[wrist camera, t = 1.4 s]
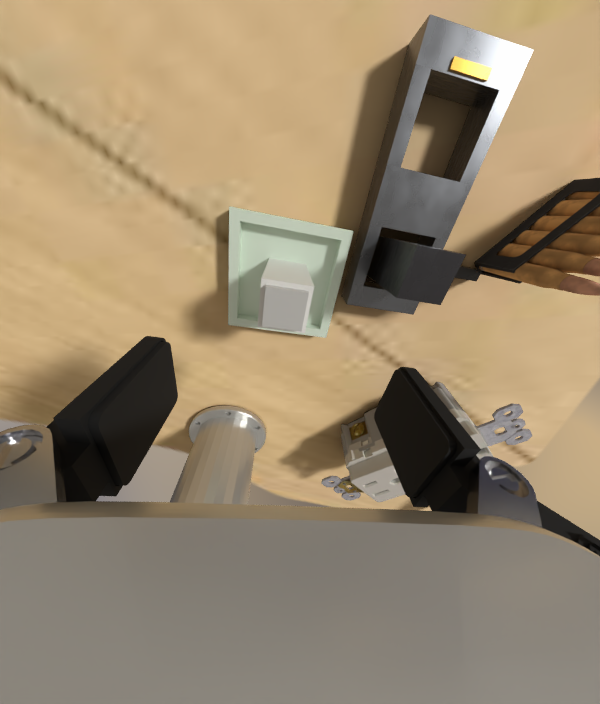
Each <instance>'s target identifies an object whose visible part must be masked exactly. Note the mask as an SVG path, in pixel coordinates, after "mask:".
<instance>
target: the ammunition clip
mask: <svg viewBox="0 0 600 704" xmlns="http://www.w3.org/2000/svg"><path fill="white" fill-rule="evenodd" d="M596 256H600V178H592V179H580V180H574V181H572V182H571V183H570V184H569V185H568V186H566V187H565V188H564V189H563V190H562V191H560V192H559V193H558V194H557V195H555V196H554V197H553V198H552V199H551V200H549V201H548V202H547V203H546V204H545V205H543V206H542V207H541V208H540V209H539V210H537V211H536V212H535V213H534V214H533V215H531V216H530V217H529V218H528V219H526V220H525V221H524V222H523V223H522V224H520V225H519V226H518V227H517V228H516V229H514V230H513V231H512V232H511V233H510V234H508V235H507V236H506V237H505V238H503V239H502V240H501V241H500V242H499V243H497V244H496V245H495V246H494V247H493V248H491V249H490V250H489V251H488V252H487V253H485V254H484V255H483V256H482V257H481V258H479V259H478V260H477V261H476V262H475V265H476V267H477V269H478V270H481V271H482V272H481V274H483V275H487V276H491V277H495V278H499V279H503V280H508V281H512V282H515V283H521V282H525V283H529V284H532V285H536V286H539V287H543V288H554V289H558V290H564V291H568V292H572V293H577V294H584V295H600V284H599V283H596V282H594V281H591V280H588V279H585V278H581V277H577V276H574V275H570V274H567V273H579V274H588V275H593V276H600V259H599V258H595V257H596Z"/></svg>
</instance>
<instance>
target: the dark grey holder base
mask: <svg viewBox="0 0 600 704" xmlns="http://www.w3.org/2000/svg"><path fill="white" fill-rule="evenodd" d="M532 52H533V50H532V49H529V48H527V47H524V46H521V45H518V44H515V43H512V42H509V41H506V40H503V39H500V38H497V37H495V36H492V35H489V34H486V33H483V32H480V31H477V30H474V29H471V28H468V27H465V26H463V25H460V24H457V23H454V22H451V21H448V20H445V19H442V18H439V17H436V16H434V15H431V14H430V15H429V17H428V18H427V19H426V21H425V22H424V24H423V25H422V26H421V28H420V29H419V31H418V32H417V33H416V35H415V36H414V37H413V39H412V40H411V42H410V43H409V46H408V50H407V53H406V57H405V61H404V64H403V68H402V72H401V76H400V79H399V83H398V87H397V90H396V94H395V98H394V102H393V105H392V109H391V113H390V116H389V120H388V124H387V128H386V131H385V135H384V139H383V142H382V146H381V150H380V154H379V157H378V161H377V165H376V169H375V172H374V176H373V180H372V183H371V187H370V191H369V195H368V198H367V202H366V206H365V209H364V213H363V217H362V221H361V224H360V228H359V232H358V235H357V239H356V243H355V247H354V250H353V254H352V258H351V261H350V265H349V269H348V273H347V276H346V280H345V284H344V288H343V291H342V295H341V296H342V298H343V299H344V301H345V302H346V304H349V305H355V306H362V307H368V308H375V309H381V310H388V311H394V312H401V313H408V314H414V312H415V310H416V308H417V305H418V303H419V302H425V303H431V304H438V305H441V303H442V301H443V299H444V297H445V295H446V293H447V291H448V289H449V287H450V285H451V283H452V281H453V279H454V277H455V278H461V279H466V280H472V281H477V279H478V277H479V276H480V274H481V272H482V271H481V270H478V269H474V268H469V267H463V266H461V264H462V262H463V260H464V258H465V256H466V255H465V254H461V253H456V252H452V251H448V250H443V248H444V246H445V244H446V242H447V239H448V237H449V235H450V233H451V231H452V228H453V226H454V224H455V222H456V220H457V217H458V215H459V213H460V211H461V209H462V206H463V204H464V202H465V200H466V198H467V195H468V193H469V191H470V189H471V187H472V184H473V182H474V180H475V178H476V176H477V173H478V171H479V169H480V167H481V165H482V162H483V160H484V158H485V156H486V154H487V151H488V149H489V147H490V145H491V143H492V140H493V138H494V136H495V134H496V132H497V129H498V127H499V125H500V123H501V121H502V118H503V116H504V114H505V112H506V110H507V107H508V105H509V103H510V101H511V99H512V96H513V94H514V92H515V90H516V88H517V85H518V83H519V81H520V79H521V77H522V74H523V72H524V70H525V68H526V66H527V63H528V61H529V59H530V57H531V55H532ZM424 93H428V94H431V95H434V96H438V97H441V98H445V99H448V100H451V101H455V102H458V103H462V104H465V105H468V106H471V109H470V111H469V114H468V117H467V119H466V122H465V124H464V127H463V129H462V132H461V134H460V137H459V139H458V142H457V144H456V147H455V149H454V152H453V154H452V157H451V159H450V162H449V165H448V167H447V170H446V172H445V175H444V177H443V178H441V177H437V176H432V175H428V174H424V173H420V172H416V171H412V170H408V169H404V168H400V167H401V164H402V161H403V158H404V155H405V151H406V148H407V145H408V142H409V139H410V135H411V132H412V129H413V126H414V123H415V119H416V116H417V113H418V110H419V107H420V103H421V100H422V97H423V94H424ZM381 228H387V229H392V230H397V231H402V232H407V233H412V234H416V235H420V238H419V240H418V243H413V242H408V241H403V240H398V239H393V238H388V237H383V236H379V234H380V231H381ZM366 276H369V277H370V278H371V279H373V280H374V281H375V282H370V281H365V279H366Z"/></svg>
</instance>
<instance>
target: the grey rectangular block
mask: <svg viewBox="0 0 600 704" xmlns="http://www.w3.org/2000/svg"><path fill="white" fill-rule="evenodd" d="M313 291H314V284H313V282H312V279H311V276H310V274H309V271H308V269H307V266H306V264H302V263H296V262H290V261H285V260H279V259H273V258H269V260H268V263H267V265H266V268H265V270H264V273H263V275H262V278H261V289H260V301H259V313H258V325H257V327H261V328H268V329H276V330H284V331H291V332H299V333H305V330H306V325H307V320H308V315H309V310H310V306H311V301H312V296H313Z"/></svg>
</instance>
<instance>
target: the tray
mask: <svg viewBox="0 0 600 704" xmlns="http://www.w3.org/2000/svg"><path fill="white" fill-rule="evenodd" d="M353 232H354V231H352V230H347V229H342V228H337V227H332V226H327V225H322V224H317V223H312V222H307V221H302V220H296V219H291V218H286V217H281V216H276V215H271V214H266V213H261V212H256V211H251V210H246V209H241V208H236V207H229V284H228V325H233V326H240V327H248V328H255V329H263V330H271V331H278V332H286V333H294V334H301V335H309V336H317V337H324V338H326V336H327V333H328V329H329V325H330V321H331V317H332V313H333V309H334V306H335V302H336V298H337V294H338V290H339V286H340V282H341V279H342V275H343V271H344V267H345V263H346V259H347V255H348V252H349V248H350V244H351V240H352V236H353ZM269 258H273V259H279V260H285V261H290V262H296V263H302V264H306V266H307V269H308V271H309V274H310V276H311V279H312V282H313V284H314V291H313V296H312V301H311V306H310V310H309V315H308V320H307V325H306V330H305V333H299V332H291V331H284V330H276V329H268V328H261V327H257V325H258V313H259V301H260V289H261V278H262V275H263V273H264V270H265V268H266V265H267V263H268V260H269Z"/></svg>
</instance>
